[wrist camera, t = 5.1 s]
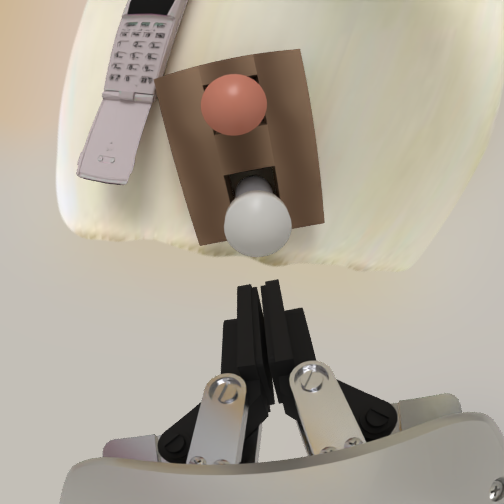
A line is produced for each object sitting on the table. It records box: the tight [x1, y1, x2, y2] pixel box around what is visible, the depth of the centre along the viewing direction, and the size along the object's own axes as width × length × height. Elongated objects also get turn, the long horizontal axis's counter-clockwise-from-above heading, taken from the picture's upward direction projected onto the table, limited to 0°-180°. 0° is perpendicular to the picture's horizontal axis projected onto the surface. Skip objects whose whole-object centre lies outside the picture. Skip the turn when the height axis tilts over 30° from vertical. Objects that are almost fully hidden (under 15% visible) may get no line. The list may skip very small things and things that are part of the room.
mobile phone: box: [76, 0, 188, 185], centre depth 18 cm, size 6×6×25 cm
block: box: [154, 49, 324, 246], centre depth 24 cm, size 12×16×5 cm
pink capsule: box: [201, 74, 267, 136], centre depth 19 cm, size 4×4×7 cm
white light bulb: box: [224, 175, 292, 257], centre depth 21 cm, size 4×4×7 cm
